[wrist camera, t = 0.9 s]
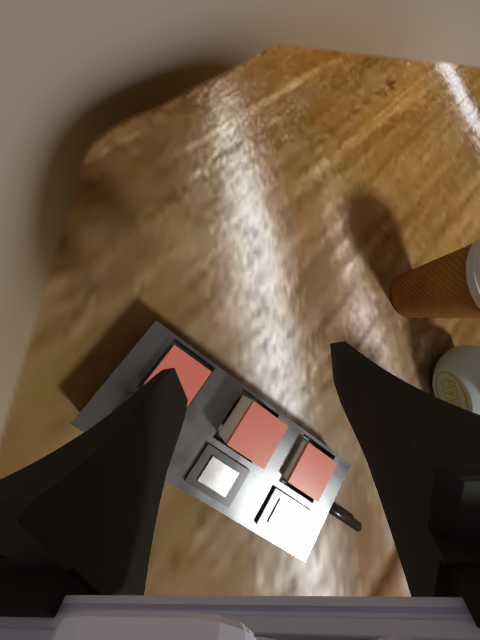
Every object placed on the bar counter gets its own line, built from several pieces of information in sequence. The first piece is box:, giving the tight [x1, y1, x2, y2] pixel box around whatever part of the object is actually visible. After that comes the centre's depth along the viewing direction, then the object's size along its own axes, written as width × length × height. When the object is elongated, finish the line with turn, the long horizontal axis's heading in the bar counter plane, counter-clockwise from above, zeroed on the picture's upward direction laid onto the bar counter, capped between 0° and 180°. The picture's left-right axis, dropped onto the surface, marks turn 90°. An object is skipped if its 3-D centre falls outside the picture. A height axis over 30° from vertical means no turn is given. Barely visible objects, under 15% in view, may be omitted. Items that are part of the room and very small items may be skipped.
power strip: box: [71, 321, 362, 562], centre depth 25 cm, size 10×32×3 cm, turn 54°
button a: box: [282, 438, 337, 502], centre depth 26 cm, size 4×4×3 cm
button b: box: [218, 396, 288, 469], centre depth 23 cm, size 4×4×3 cm
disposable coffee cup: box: [390, 239, 480, 318], centre depth 31 cm, size 10×10×12 cm
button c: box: [144, 345, 211, 407], centre depth 23 cm, size 4×4×3 cm
